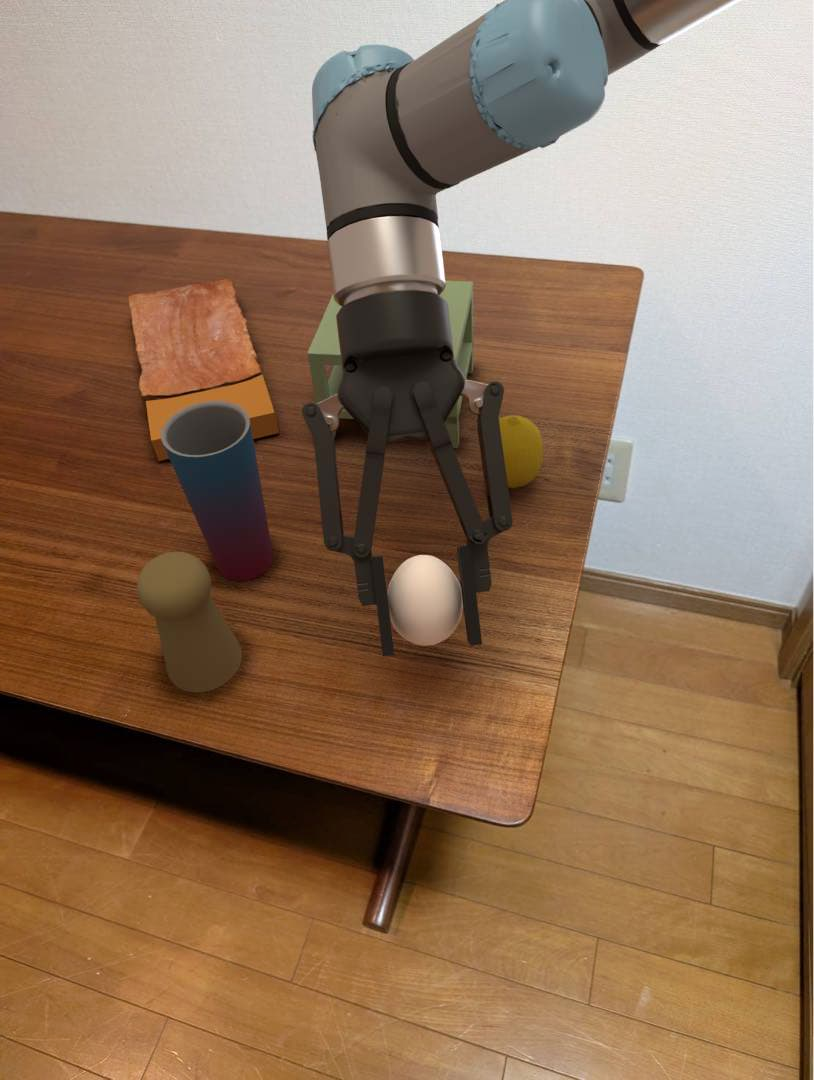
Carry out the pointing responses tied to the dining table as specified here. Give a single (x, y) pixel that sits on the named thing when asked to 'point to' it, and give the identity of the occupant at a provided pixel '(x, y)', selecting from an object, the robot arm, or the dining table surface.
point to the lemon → (520, 449)
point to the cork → (188, 622)
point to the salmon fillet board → (197, 355)
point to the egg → (424, 600)
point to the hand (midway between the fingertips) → (431, 646)
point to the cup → (222, 484)
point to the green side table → (328, 353)
